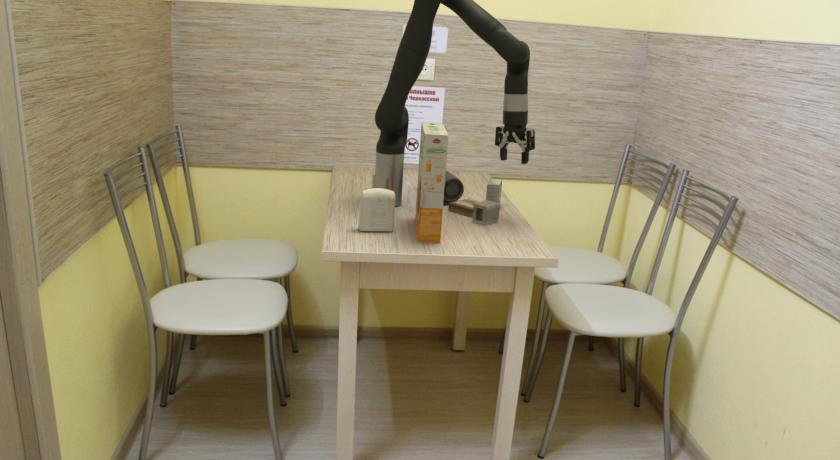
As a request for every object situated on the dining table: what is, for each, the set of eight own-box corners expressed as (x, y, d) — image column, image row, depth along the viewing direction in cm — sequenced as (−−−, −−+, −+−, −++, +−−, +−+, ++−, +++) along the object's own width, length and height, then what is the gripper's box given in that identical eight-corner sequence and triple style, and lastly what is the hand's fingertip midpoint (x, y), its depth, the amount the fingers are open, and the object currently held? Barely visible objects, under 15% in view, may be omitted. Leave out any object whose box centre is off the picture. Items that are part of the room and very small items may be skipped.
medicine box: (497, 210, 225) (500, 184, 223) (484, 208, 226) (487, 183, 224) (500, 204, 233) (502, 180, 230) (487, 203, 234) (489, 178, 231)
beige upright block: (392, 227, 198) (394, 186, 194) (395, 232, 194) (397, 190, 190) (357, 228, 195) (359, 186, 192) (359, 232, 191) (361, 190, 188)
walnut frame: (474, 218, 214) (475, 209, 213) (448, 210, 221) (448, 202, 220) (495, 212, 222) (495, 204, 221) (468, 205, 229) (469, 197, 228)
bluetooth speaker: (464, 205, 229) (466, 176, 226) (438, 205, 226) (441, 176, 223) (439, 189, 249) (441, 162, 246) (416, 189, 246) (417, 162, 243)
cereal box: (415, 219, 208) (421, 122, 200) (435, 220, 209) (442, 123, 200) (417, 241, 187) (424, 134, 178) (440, 242, 187) (448, 135, 178)
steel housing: (485, 225, 206) (486, 207, 205) (472, 222, 210) (473, 203, 208) (498, 222, 212) (500, 203, 210) (485, 218, 215) (487, 200, 213)
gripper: (489, 108, 207) (488, 160, 212) (525, 111, 197) (523, 166, 201) (506, 106, 212) (505, 157, 216) (541, 109, 201) (539, 163, 206)
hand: (514, 161), depth 209 cm, fingers open, 8 cm apart
